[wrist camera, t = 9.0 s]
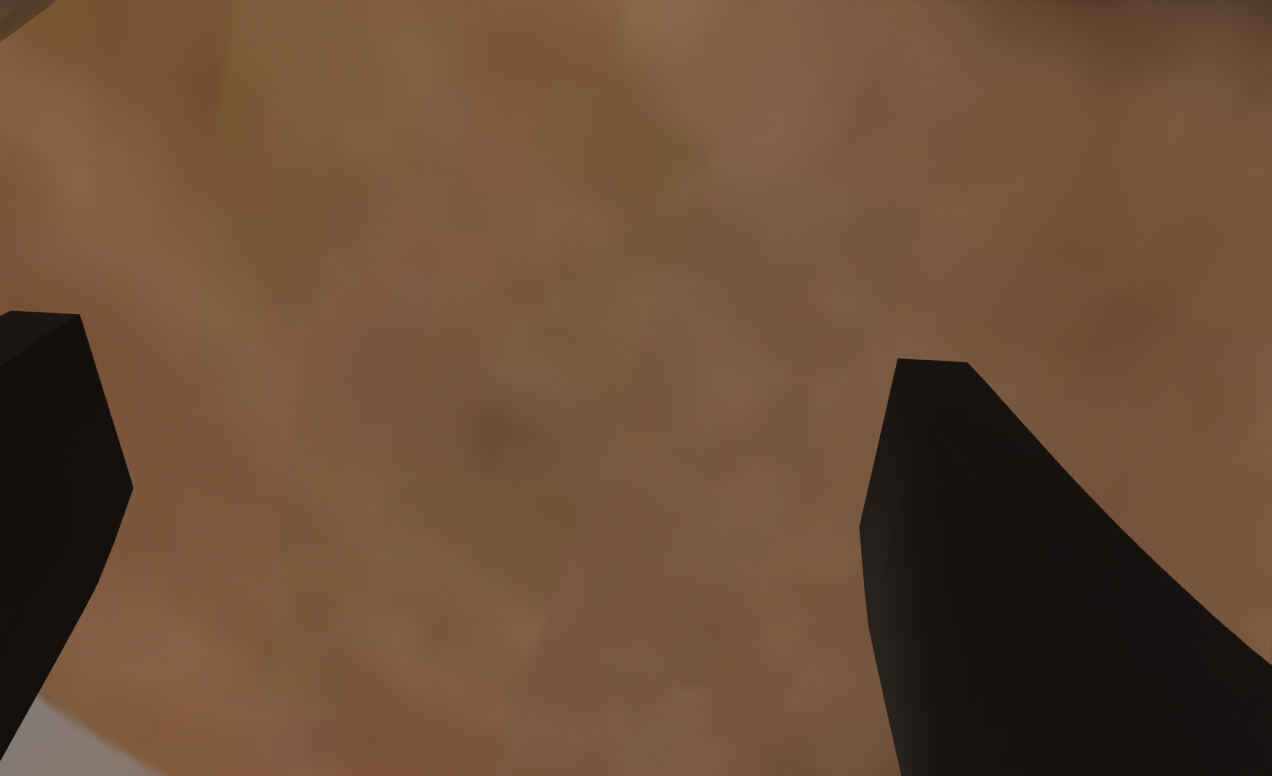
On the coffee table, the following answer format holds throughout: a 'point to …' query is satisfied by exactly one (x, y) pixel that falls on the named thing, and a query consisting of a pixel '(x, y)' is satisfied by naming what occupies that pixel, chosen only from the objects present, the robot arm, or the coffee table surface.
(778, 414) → the coffee table surface
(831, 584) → the coffee table surface
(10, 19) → the walls
